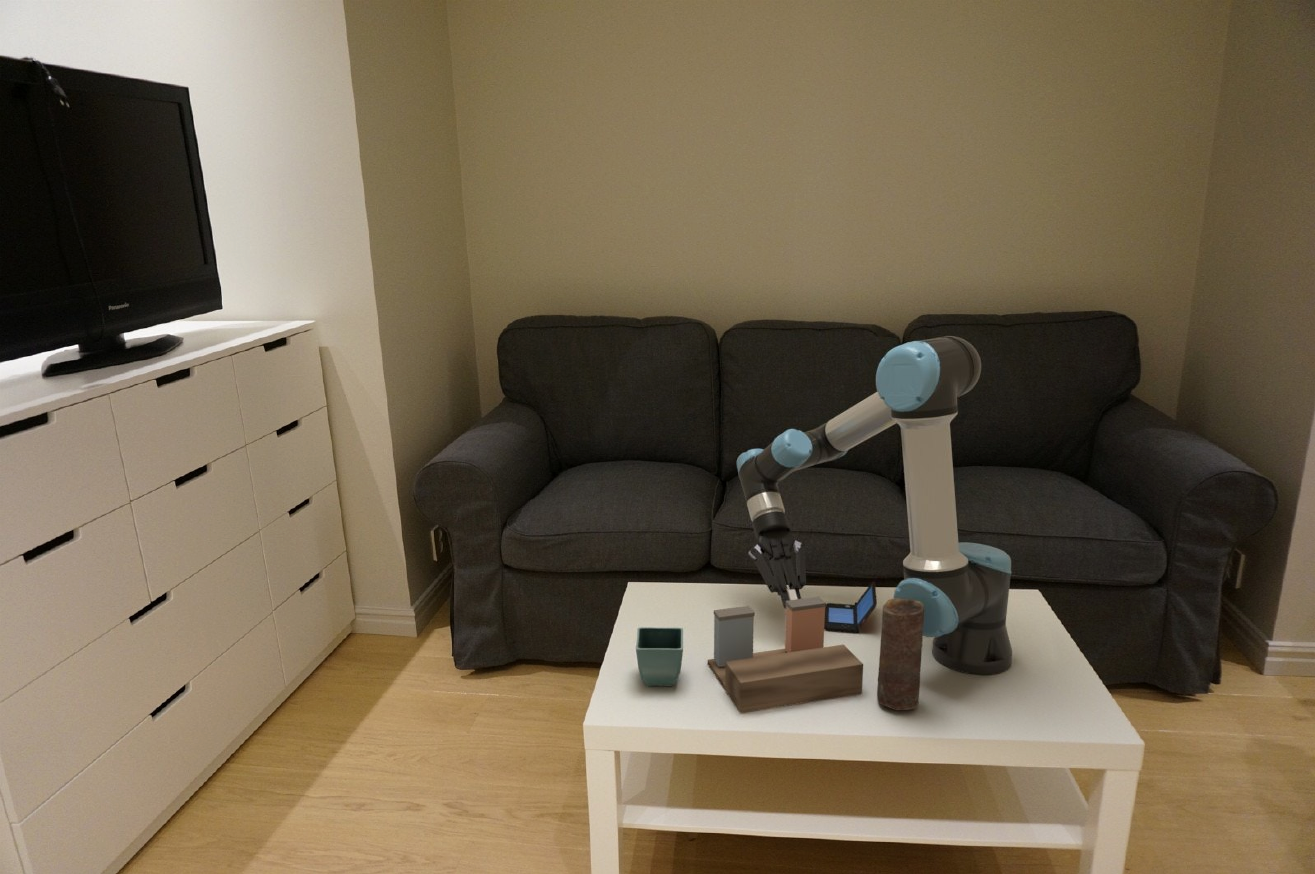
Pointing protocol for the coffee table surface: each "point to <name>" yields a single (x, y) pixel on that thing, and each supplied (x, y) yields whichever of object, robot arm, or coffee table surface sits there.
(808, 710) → the coffee table surface
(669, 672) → the flower pot
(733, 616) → the key slate
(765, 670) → the key block
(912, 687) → the candle
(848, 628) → the handheld game console
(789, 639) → the key terracotta
